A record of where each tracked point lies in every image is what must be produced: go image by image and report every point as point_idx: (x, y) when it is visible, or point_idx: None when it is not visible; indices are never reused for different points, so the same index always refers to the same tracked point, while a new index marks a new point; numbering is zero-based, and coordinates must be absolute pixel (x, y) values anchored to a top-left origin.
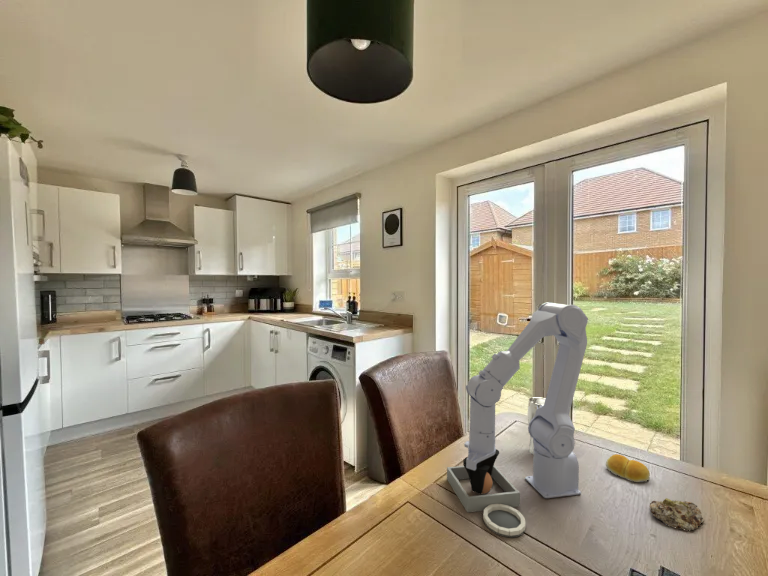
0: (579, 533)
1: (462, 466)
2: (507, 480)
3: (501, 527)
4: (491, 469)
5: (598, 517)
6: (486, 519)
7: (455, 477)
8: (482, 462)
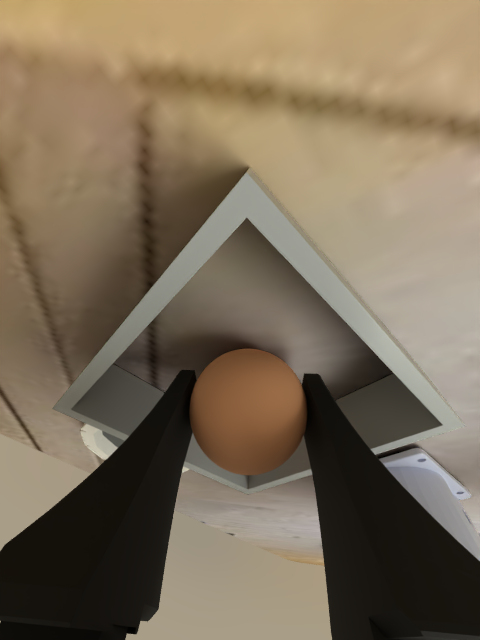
0: (233, 500)
1: (341, 302)
2: (304, 473)
3: (97, 449)
4: (314, 478)
5: (303, 514)
6: (86, 425)
7: (150, 312)
8: (332, 485)
